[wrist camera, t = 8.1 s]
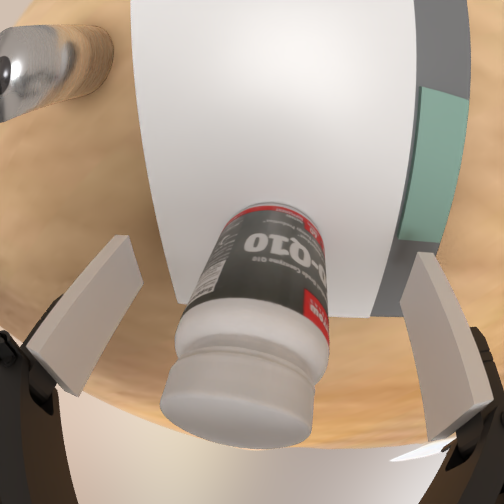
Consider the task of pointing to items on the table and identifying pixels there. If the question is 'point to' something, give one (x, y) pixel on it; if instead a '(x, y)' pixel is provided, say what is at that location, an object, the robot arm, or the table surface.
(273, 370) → the pill bottle
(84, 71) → the cylinder
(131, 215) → the table surface
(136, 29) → the kitchen scale
